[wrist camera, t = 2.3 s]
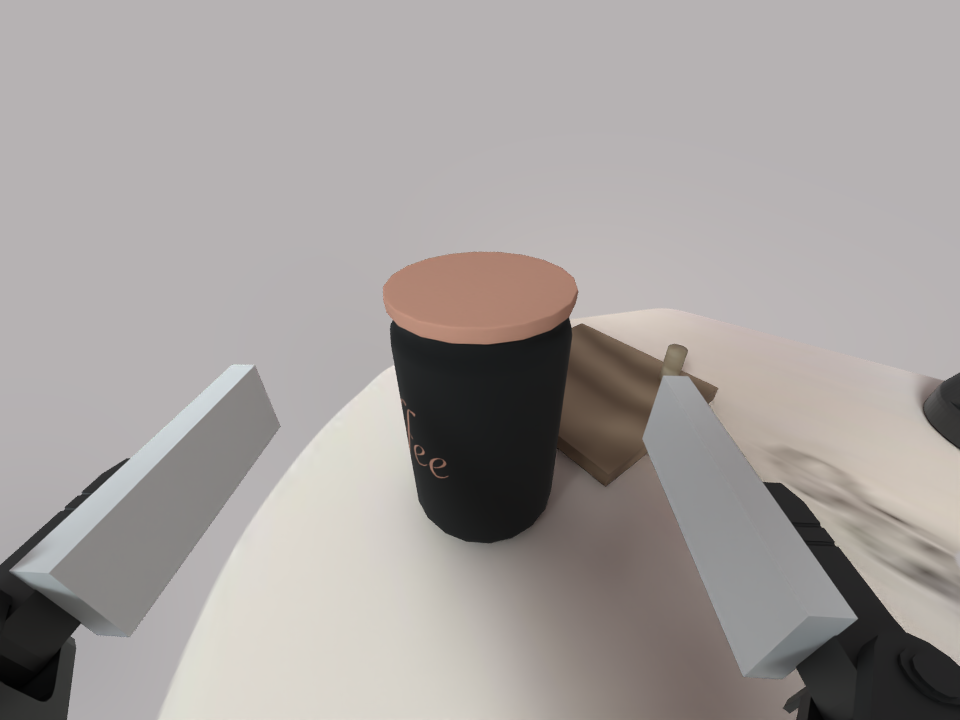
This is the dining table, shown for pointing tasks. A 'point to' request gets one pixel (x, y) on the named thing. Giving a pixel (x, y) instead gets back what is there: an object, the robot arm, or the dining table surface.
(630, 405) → the pegged base plate
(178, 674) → the dining table surface
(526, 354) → the coffee jar
